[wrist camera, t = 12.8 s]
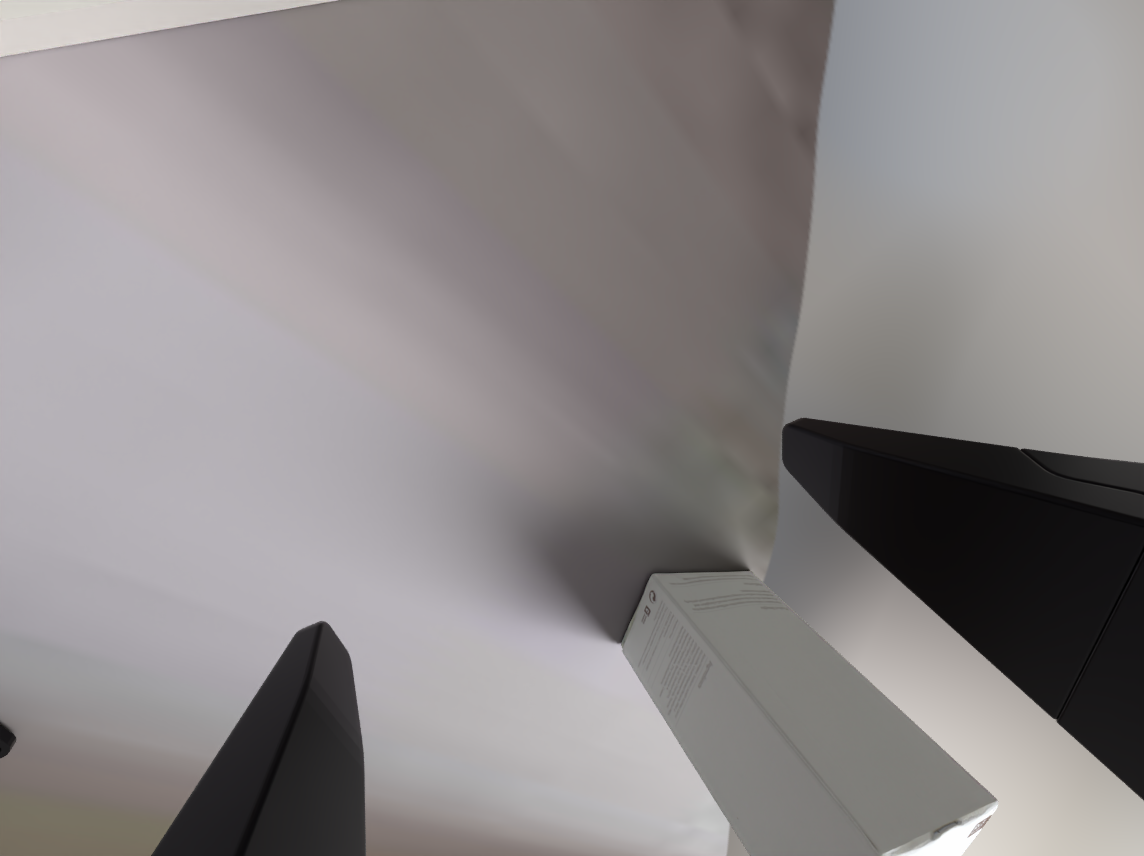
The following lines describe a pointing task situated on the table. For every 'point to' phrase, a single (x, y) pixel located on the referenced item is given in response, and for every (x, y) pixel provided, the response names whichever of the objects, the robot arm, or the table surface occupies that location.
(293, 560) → the table surface
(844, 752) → the skincare box
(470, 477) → the table surface
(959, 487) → the robot arm
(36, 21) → the sorting tray
